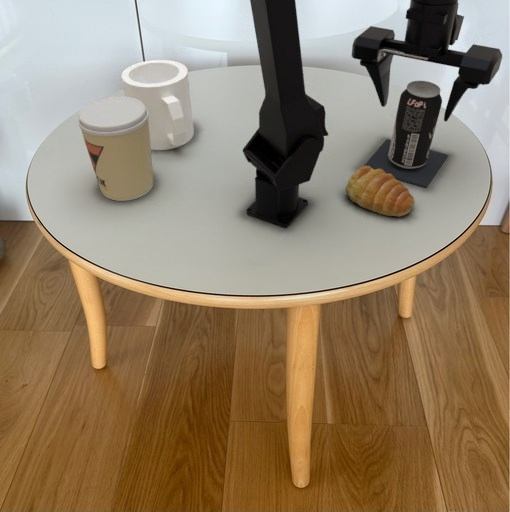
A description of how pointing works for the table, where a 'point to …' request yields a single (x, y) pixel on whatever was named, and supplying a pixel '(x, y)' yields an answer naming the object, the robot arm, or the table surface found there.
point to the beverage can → (415, 124)
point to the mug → (162, 100)
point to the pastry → (379, 192)
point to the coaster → (413, 176)
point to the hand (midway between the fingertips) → (414, 112)
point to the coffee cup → (118, 146)
